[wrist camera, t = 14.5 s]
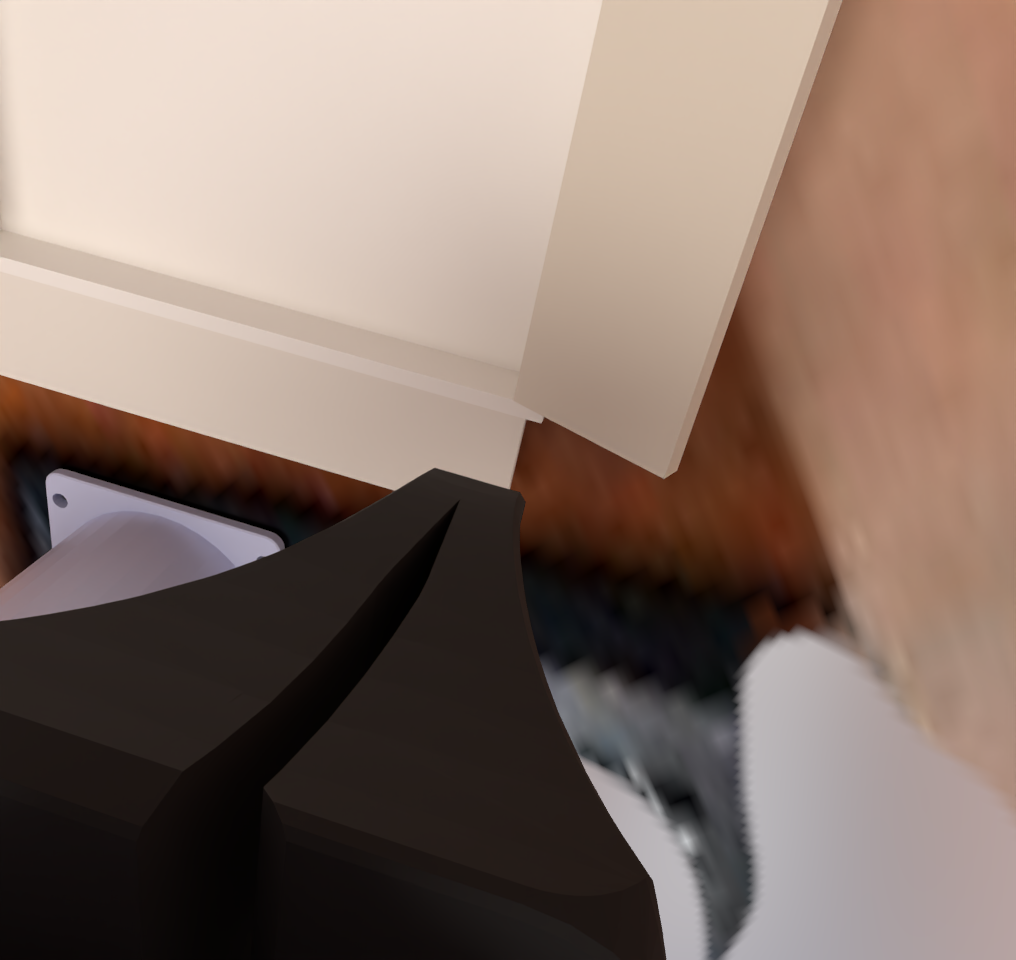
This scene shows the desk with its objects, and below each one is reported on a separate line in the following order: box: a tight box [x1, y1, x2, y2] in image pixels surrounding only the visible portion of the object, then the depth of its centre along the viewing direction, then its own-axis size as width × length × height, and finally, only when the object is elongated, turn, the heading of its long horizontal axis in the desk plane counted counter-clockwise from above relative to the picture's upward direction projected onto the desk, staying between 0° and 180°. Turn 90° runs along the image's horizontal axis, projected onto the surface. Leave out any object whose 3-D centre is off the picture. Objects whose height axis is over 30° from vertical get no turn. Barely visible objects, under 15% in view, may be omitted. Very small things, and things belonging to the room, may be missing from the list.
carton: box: [0, 0, 603, 491], centre depth 18 cm, size 20×16×2 cm
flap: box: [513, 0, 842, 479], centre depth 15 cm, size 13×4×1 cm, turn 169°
